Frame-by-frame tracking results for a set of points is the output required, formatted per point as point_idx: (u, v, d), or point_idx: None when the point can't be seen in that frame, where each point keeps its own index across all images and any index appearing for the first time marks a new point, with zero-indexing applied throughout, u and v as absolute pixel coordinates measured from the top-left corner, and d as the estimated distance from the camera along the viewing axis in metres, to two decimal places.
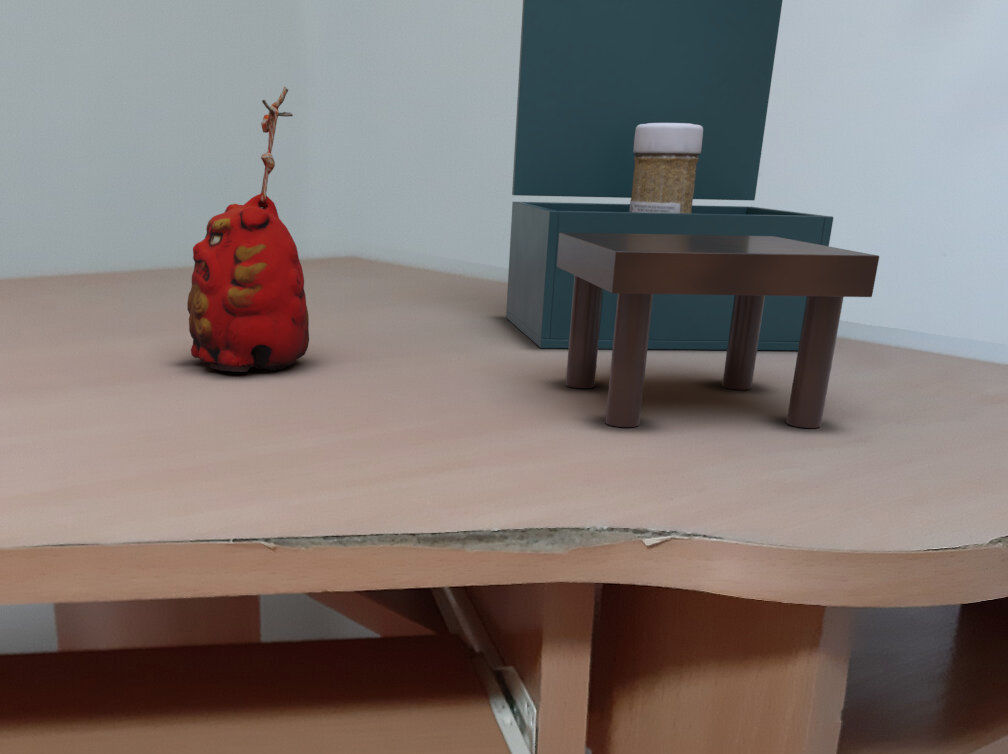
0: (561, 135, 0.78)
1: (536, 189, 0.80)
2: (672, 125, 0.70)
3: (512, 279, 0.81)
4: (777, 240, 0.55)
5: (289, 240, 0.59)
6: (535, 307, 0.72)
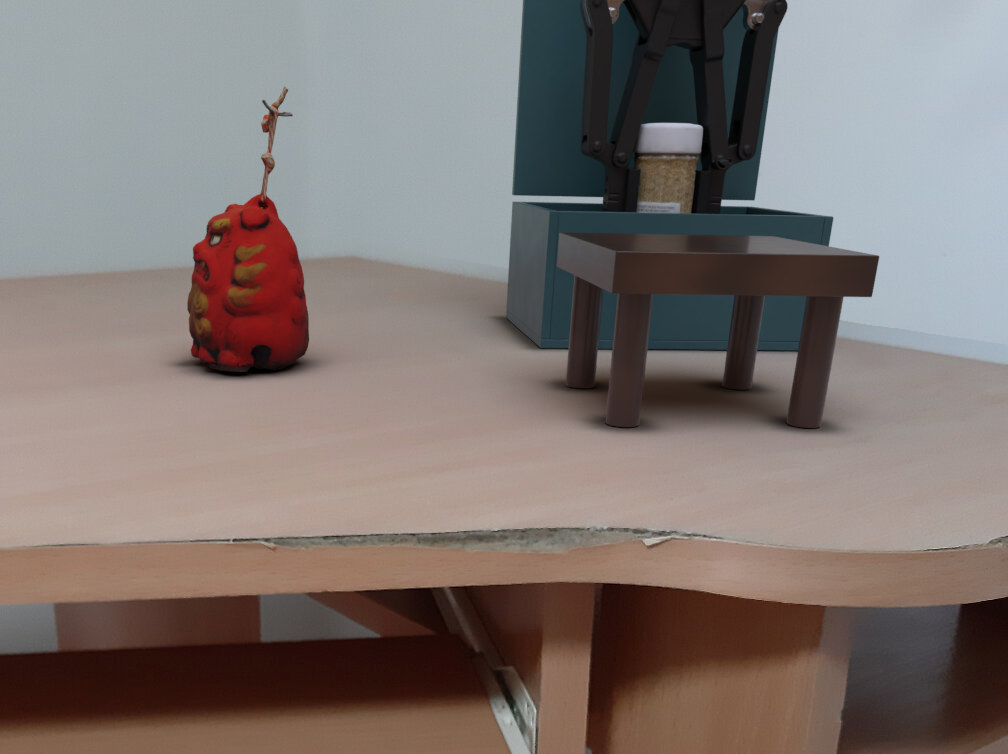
0: (561, 135, 0.78)
1: (536, 189, 0.80)
2: (672, 125, 0.70)
3: (512, 279, 0.81)
4: (777, 240, 0.55)
5: (289, 240, 0.59)
6: (535, 307, 0.72)
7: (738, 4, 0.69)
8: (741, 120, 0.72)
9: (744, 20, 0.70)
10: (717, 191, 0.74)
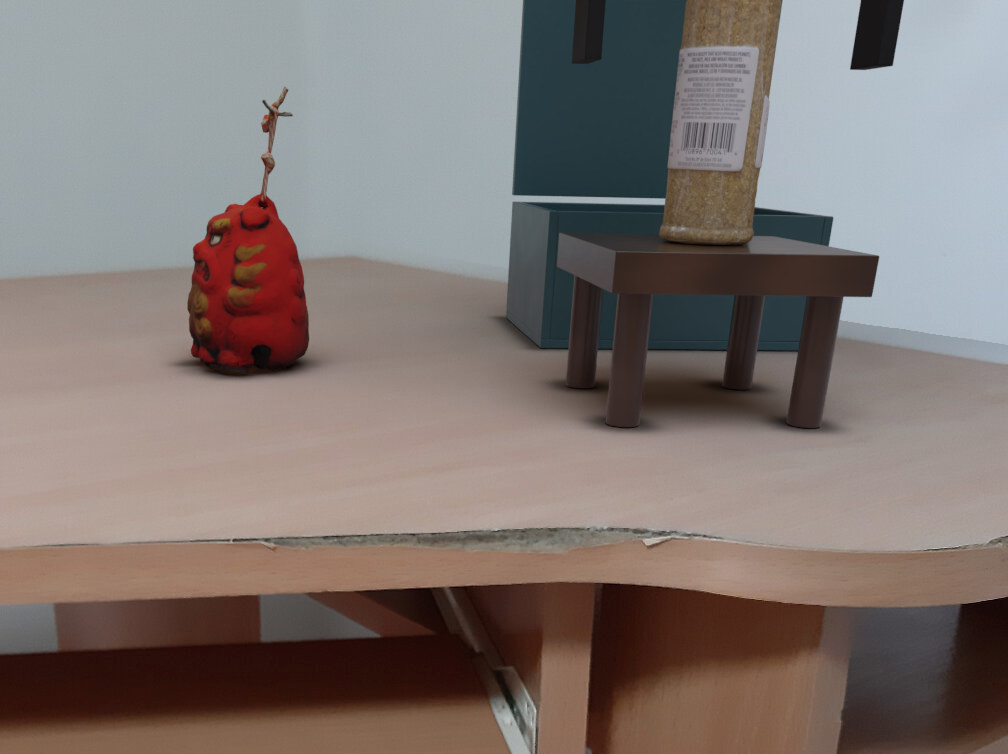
0: (561, 135, 0.78)
1: (536, 189, 0.80)
2: None
3: (512, 279, 0.81)
4: (777, 240, 0.55)
5: (289, 240, 0.59)
6: (535, 307, 0.72)
7: None
8: None
9: None
10: None
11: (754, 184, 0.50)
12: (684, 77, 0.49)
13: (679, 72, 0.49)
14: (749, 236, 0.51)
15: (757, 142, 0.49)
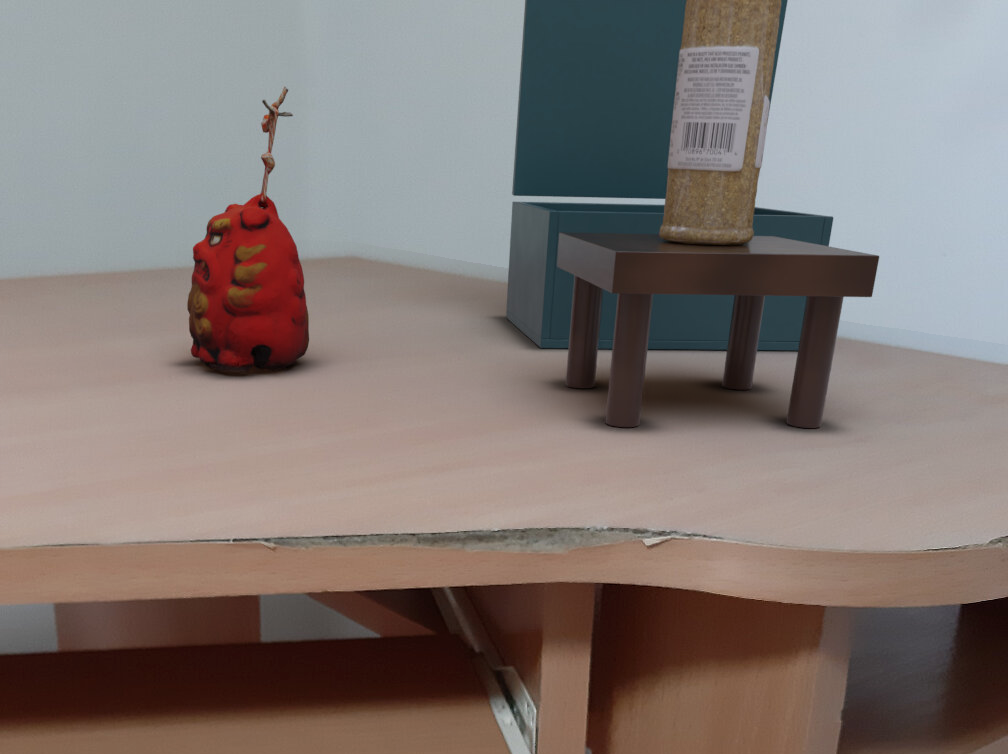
0: (562, 136, 0.78)
1: (536, 189, 0.80)
2: None
3: (512, 279, 0.81)
4: (777, 240, 0.55)
5: (289, 240, 0.59)
6: (535, 307, 0.72)
7: None
8: None
9: None
10: None
11: (754, 184, 0.50)
12: (684, 77, 0.49)
13: (679, 72, 0.49)
14: (749, 236, 0.51)
15: (757, 142, 0.49)
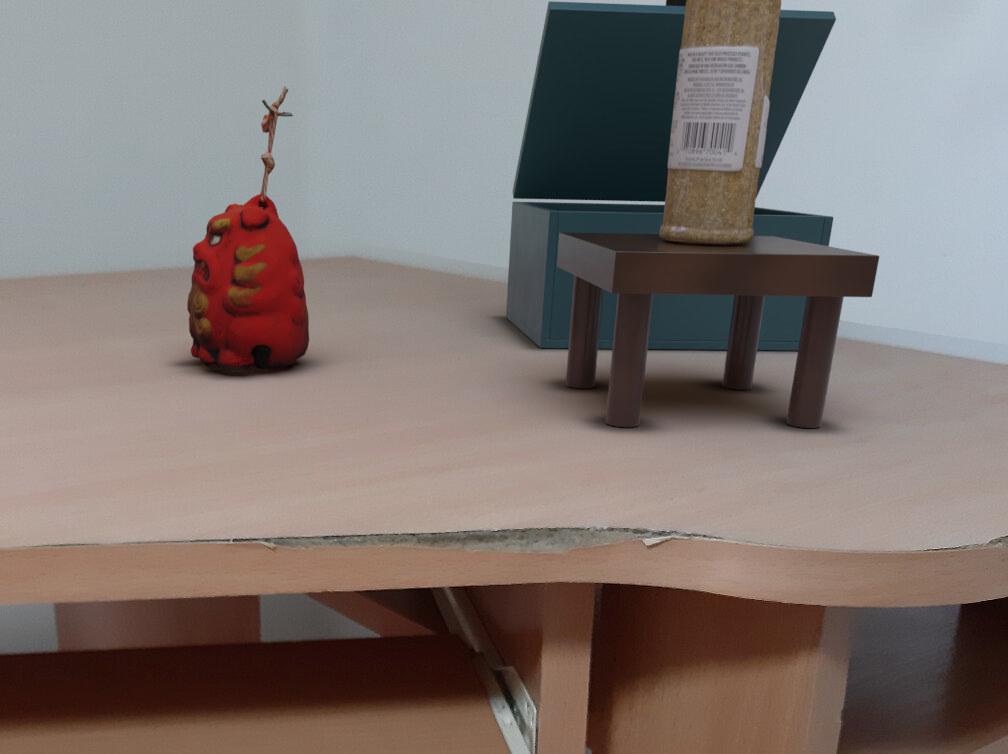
0: (567, 153, 0.76)
1: (536, 194, 0.80)
2: None
3: (512, 279, 0.81)
4: (777, 240, 0.55)
5: (289, 240, 0.59)
6: (535, 307, 0.72)
7: None
8: None
9: None
10: None
11: (754, 184, 0.50)
12: (684, 77, 0.49)
13: (679, 72, 0.49)
14: (749, 236, 0.51)
15: (757, 142, 0.49)
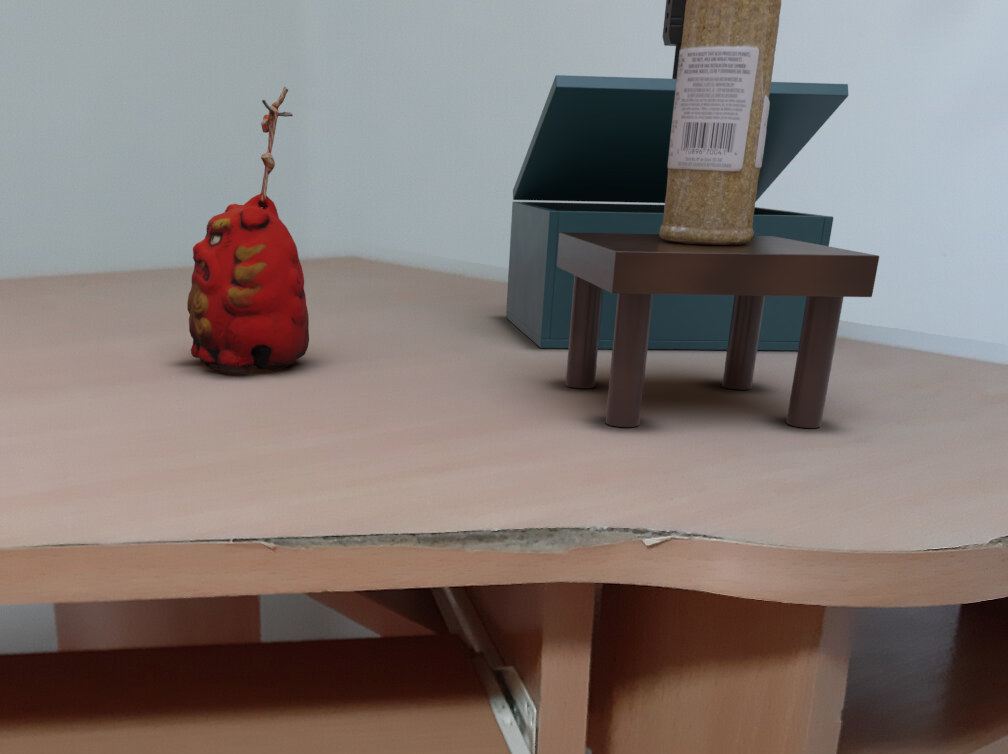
0: (569, 174, 0.76)
1: (536, 198, 0.80)
2: None
3: (512, 279, 0.81)
4: (777, 240, 0.55)
5: (289, 240, 0.59)
6: (535, 307, 0.72)
7: None
8: None
9: None
10: None
11: (754, 184, 0.50)
12: (684, 77, 0.49)
13: (679, 72, 0.49)
14: (749, 236, 0.51)
15: (757, 142, 0.49)
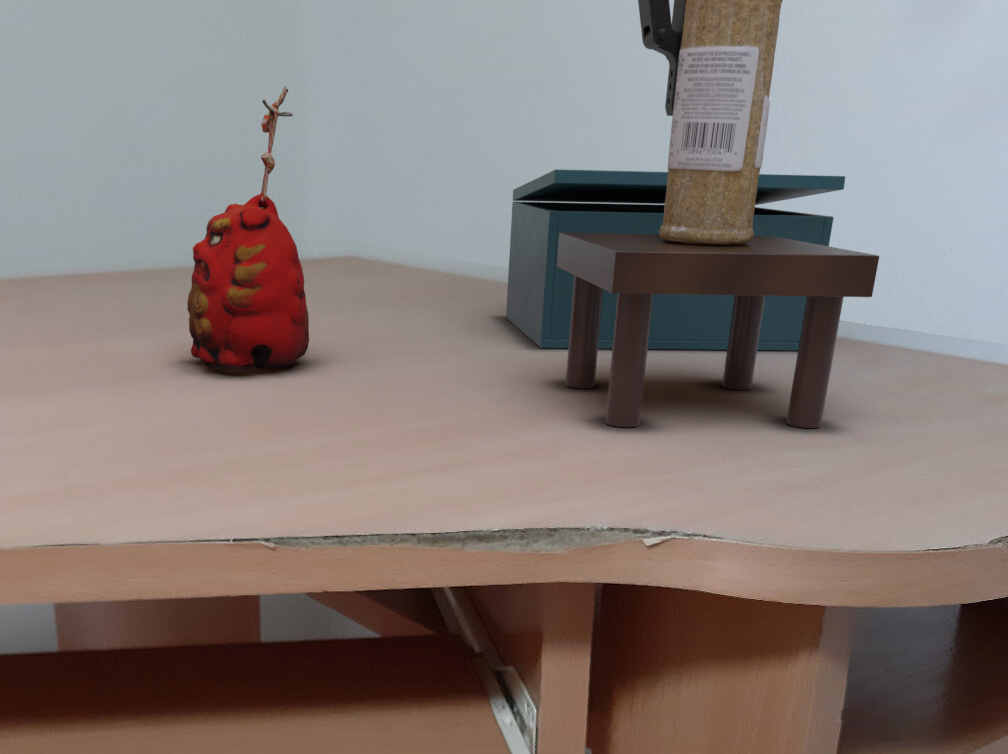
0: (568, 197, 0.76)
1: (535, 200, 0.80)
2: None
3: (512, 279, 0.81)
4: (777, 240, 0.55)
5: (289, 240, 0.59)
6: (535, 307, 0.72)
7: None
8: None
9: None
10: None
11: (754, 184, 0.50)
12: (684, 77, 0.49)
13: (679, 72, 0.49)
14: (749, 236, 0.51)
15: (757, 142, 0.49)
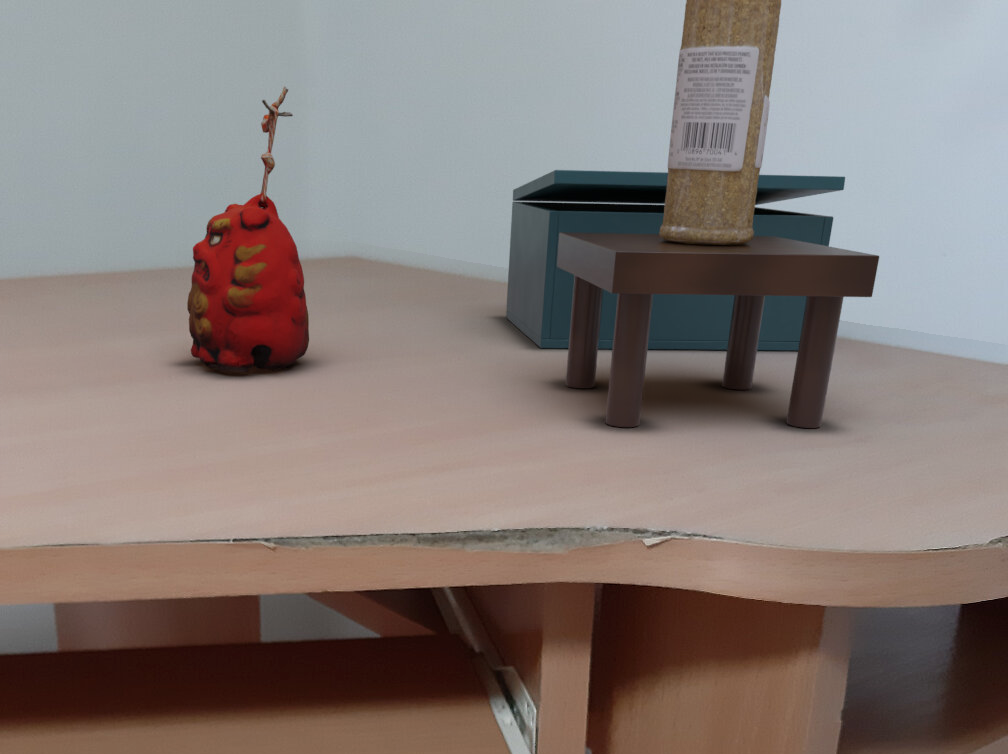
0: (568, 197, 0.77)
1: (535, 200, 0.80)
2: None
3: (512, 279, 0.81)
4: (777, 240, 0.55)
5: (289, 240, 0.59)
6: (535, 307, 0.72)
7: None
8: None
9: None
10: None
11: (754, 184, 0.50)
12: (684, 77, 0.49)
13: (679, 72, 0.49)
14: (749, 236, 0.51)
15: (757, 142, 0.49)
